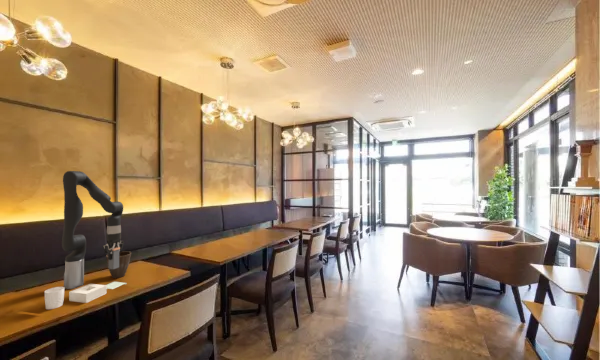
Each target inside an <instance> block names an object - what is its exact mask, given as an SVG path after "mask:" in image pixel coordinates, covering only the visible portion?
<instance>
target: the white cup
mask: <svg viewBox="0 0 600 360" xmlns="http://www.w3.org/2000/svg"><path fill="white" fill-rule="evenodd" d="M64 299H65V287H64V286H54V287H51V288H48V289H46V290H44V303H45V304H44V305H45V309H46V310H53V309H57V308H60V307H62V306H64V305H63V304H64V302H65V301H64Z"/></svg>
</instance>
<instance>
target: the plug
mask: <svg viewBox="0 0 600 360" xmlns="http://www.w3.org/2000/svg"><path fill="white" fill-rule="evenodd" d="M120 248H121V247H119V248H117V247H116V248H114V249H113V250H112V251H113V252H112V260H109V266H108V265H107V268H108V270H109V269H116V268H118V267H119V252H120V251H119V249H120ZM110 249H112V248H110ZM110 251H111V250H110Z"/></svg>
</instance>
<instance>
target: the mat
mask: <svg viewBox="0 0 600 360" xmlns="http://www.w3.org/2000/svg"><path fill="white" fill-rule="evenodd" d="M106 285H107V290H108V289H109V290H114V289H116V288H119V287H121V286H123V285H127V282H120V281H112V282H110V283H108V284H106Z"/></svg>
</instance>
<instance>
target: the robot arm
mask: <svg viewBox="0 0 600 360" xmlns="http://www.w3.org/2000/svg"><path fill="white" fill-rule="evenodd" d="M62 184H63V195H64V197H63V198H64V200H63V202H64V203H63V204H64V205H63V217H64V218H63V230H62V239H61V247H62V248H61V249H63V251H65V252H71V253H69V254H67V255H66V256H65V257H64V258H65V260H64V263H65V266H64V268H65V269H64V273H63V287H65V289H66V290H74V289H78V288H80V287H83V286H85V285H84V284H85V283H84V282H85V255H86V252H87V251H86V250H87V239H86V237H85V235H84V234H75V230H76V228H77V225H78V224H79V223H80V221H81V219H82V218H83V215H84V204H83V202H82V200H81V198H80V197H79V195H78V192H77V186H81V187H83V188H84V189H86V190H87V192H88V194H89V196H90V197H91V198H92V200H94V201H95V202H97V203H98V204H99V205H100V206H101V208H102V209H103V210H104V211H105V212H107V213H109V214H111V215H110V216H109V217H107V225H106V226H107V227H106V241H107V243H106V244H105V245H102V250H103V252H104V254H105V255H108V259H109V260H112V252H113V251H112V250H113V249H114V248H116V247H117V248H119V247H120V249H119V252H121V251H122V250H123V248H124V245H125V241H124V240H121V239H122V226H121V224H122V223H121V222H122V219H121V218H122V216H123V212H124V205H123V203H122V202H121V201H112V200H111V196H110V195H109V194H108V193H106V192H105V191H103V190H102V189H101V188H100V187H98V185H96V183H95V182H94V181H93V180H92V179H91V178H90V177H89V176H88V175H87V174H86V172H83V171H80V170H78V171H77V170H68V171H66V172H64V174H63V176H62ZM110 248H112V249H110ZM110 250H111V251H110ZM65 289H64V290H65Z"/></svg>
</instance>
